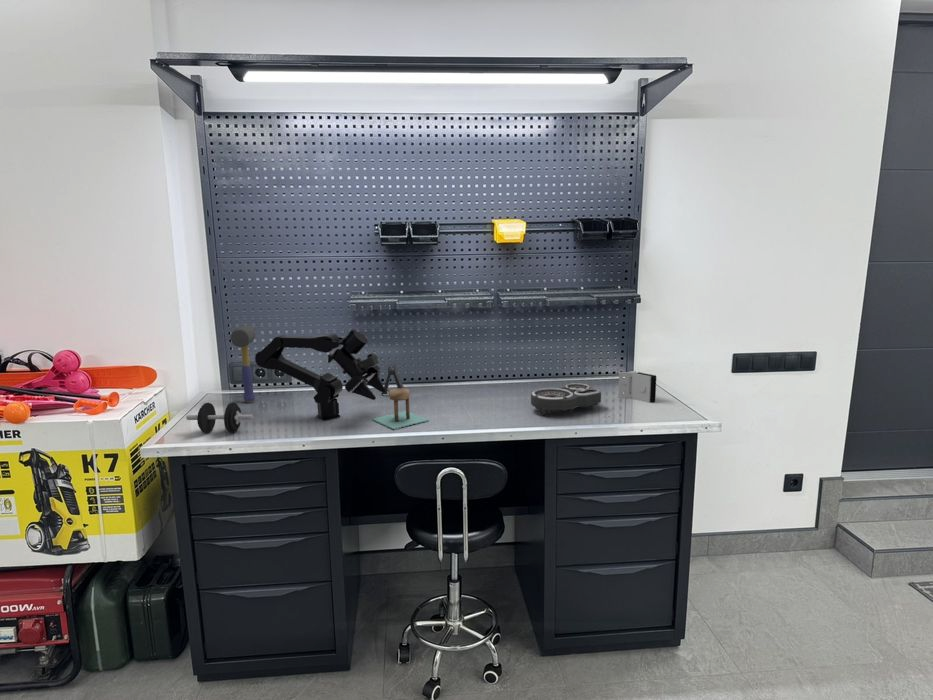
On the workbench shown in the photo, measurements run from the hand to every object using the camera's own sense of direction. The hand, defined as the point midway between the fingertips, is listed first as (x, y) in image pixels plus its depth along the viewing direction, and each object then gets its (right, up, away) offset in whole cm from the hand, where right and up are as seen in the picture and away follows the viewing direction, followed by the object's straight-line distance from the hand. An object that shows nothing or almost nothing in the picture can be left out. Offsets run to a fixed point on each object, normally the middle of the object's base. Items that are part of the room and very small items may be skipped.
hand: (380, 395), depth 195 cm
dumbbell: (-51, -12, -8) cm, 53 cm away
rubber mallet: (-55, -5, +27) cm, 62 cm away
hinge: (+94, -3, +21) cm, 97 cm away
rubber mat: (+7, -9, 0) cm, 11 cm away
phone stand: (0, -2, +36) cm, 36 cm away
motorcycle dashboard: (+65, -6, +10) cm, 66 cm away
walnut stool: (+7, -8, 0) cm, 11 cm away
